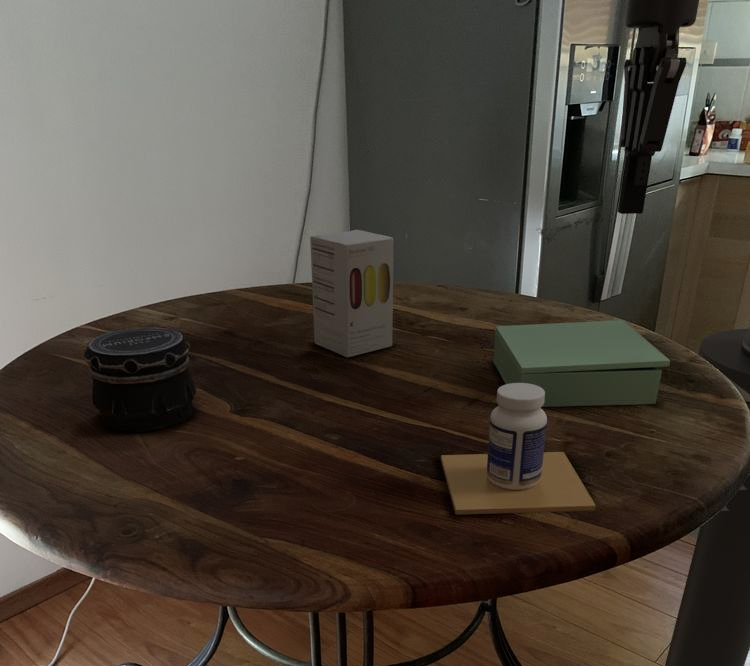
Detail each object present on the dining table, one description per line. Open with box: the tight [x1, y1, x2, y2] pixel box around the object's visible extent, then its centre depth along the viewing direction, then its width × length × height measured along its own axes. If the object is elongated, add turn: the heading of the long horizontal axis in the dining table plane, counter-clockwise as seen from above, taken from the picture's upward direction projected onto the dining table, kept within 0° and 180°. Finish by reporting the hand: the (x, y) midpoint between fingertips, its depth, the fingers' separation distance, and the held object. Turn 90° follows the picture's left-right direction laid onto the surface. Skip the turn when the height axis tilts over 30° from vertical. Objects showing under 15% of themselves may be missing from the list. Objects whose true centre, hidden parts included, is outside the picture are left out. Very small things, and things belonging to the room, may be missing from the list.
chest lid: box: [495, 319, 671, 374], centre depth 101 cm, size 19×18×1 cm
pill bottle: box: [487, 383, 548, 490], centre depth 75 cm, size 6×6×10 cm
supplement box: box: [309, 229, 394, 358], centre depth 114 cm, size 10×9×17 cm
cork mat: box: [440, 451, 597, 516], centre depth 78 cm, size 14×12×1 cm
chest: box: [492, 331, 663, 408], centre depth 102 cm, size 18×18×5 cm
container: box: [83, 326, 197, 432], centre depth 92 cm, size 13×13×10 cm
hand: (629, 212), depth 92 cm, fingers closed
